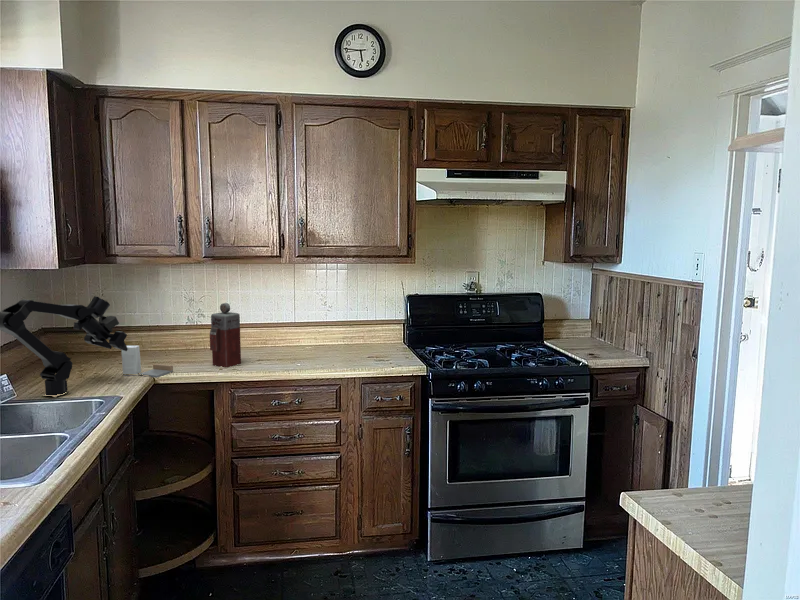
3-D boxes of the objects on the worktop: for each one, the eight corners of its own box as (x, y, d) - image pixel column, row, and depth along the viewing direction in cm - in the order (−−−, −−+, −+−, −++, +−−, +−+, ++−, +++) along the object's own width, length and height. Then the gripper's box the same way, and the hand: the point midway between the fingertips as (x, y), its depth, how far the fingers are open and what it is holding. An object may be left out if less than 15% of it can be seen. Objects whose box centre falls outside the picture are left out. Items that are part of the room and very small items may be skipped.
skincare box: (141, 372, 243) (140, 345, 241) (137, 375, 239) (135, 347, 237) (126, 372, 243) (125, 345, 241) (122, 375, 238) (120, 347, 237)
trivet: (156, 377, 236) (156, 370, 235) (138, 375, 238) (138, 369, 238) (173, 371, 245) (172, 365, 245) (155, 370, 248) (155, 363, 248)
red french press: (208, 366, 256) (206, 304, 252) (227, 361, 265) (225, 301, 262) (222, 368, 251) (220, 305, 248) (241, 363, 261) (239, 302, 257)
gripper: (121, 312, 223) (146, 334, 235) (88, 308, 231) (114, 331, 242) (105, 335, 217) (131, 357, 229) (72, 331, 225) (98, 353, 236)
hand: (118, 349), depth 234 cm, fingers open, 9 cm apart
